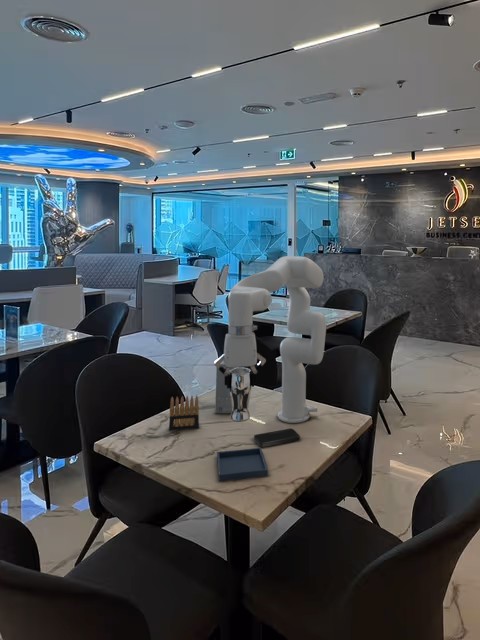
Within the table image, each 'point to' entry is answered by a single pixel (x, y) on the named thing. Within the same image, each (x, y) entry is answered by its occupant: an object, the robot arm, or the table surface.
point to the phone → (276, 437)
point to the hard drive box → (222, 393)
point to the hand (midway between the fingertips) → (240, 385)
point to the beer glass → (240, 393)
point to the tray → (241, 464)
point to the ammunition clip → (186, 420)
